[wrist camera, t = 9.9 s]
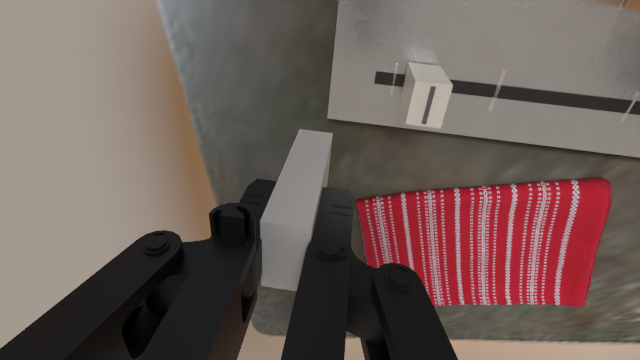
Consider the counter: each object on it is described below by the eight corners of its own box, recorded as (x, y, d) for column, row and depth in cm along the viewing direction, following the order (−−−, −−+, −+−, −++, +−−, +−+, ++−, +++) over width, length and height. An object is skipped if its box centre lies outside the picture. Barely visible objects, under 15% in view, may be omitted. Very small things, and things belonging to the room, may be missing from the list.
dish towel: (575, 294, 41) (587, 313, 38) (372, 299, 45) (373, 316, 43) (608, 168, 32) (626, 184, 30) (354, 192, 37) (353, 206, 35)
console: (352, -117, 23) (350, -124, 21) (803, -80, 21) (843, -84, 20) (329, 110, 32) (327, 118, 30) (649, 149, 30) (666, 161, 28)
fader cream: (408, 62, 26) (415, 81, 22) (440, 65, 26) (453, 85, 22) (400, 99, 28) (405, 124, 24) (430, 103, 28) (440, 129, 24)
